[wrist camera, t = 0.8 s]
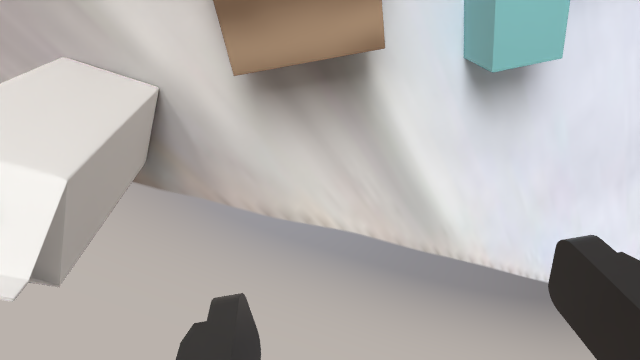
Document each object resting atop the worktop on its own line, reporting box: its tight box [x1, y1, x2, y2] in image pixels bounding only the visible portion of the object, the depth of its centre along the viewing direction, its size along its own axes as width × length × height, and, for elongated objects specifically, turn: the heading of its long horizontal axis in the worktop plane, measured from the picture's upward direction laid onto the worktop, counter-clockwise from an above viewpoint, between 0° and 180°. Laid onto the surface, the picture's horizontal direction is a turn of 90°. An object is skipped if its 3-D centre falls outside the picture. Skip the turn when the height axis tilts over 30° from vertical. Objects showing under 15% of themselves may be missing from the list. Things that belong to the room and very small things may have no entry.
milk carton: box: [0, 57, 159, 301], centre depth 23 cm, size 7×7×19 cm
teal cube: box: [464, 0, 570, 73], centre depth 28 cm, size 5×5×5 cm
